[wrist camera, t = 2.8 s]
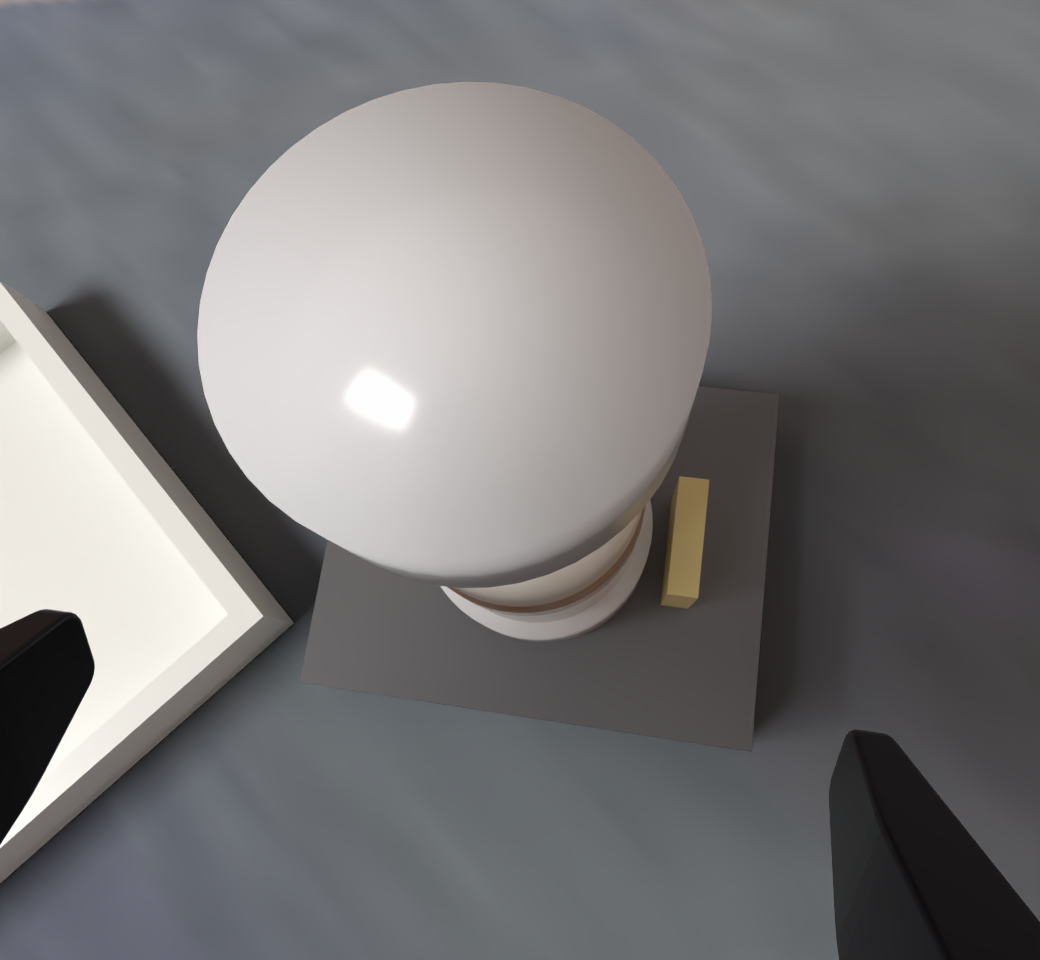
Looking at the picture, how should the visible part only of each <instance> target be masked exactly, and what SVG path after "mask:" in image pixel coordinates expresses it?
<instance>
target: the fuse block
mask: <svg viewBox="0 0 1040 960" xmlns="http://www.w3.org/2000/svg"><path fill="white" fill-rule="evenodd" d="M779 396H780V394H774V393H764V392H754V391H744V390H734V389H724V388H714V387H704V386H698V389H697V393H696V396H695V399H694V403H693V406H692V410H691V413H690V416H689V420H688V423H687V426H686V430H685V433H684V436H683V438H682V441H681V444H680V446H679V449H678V452H677V454H676V457H675V460H674V462H673V463H672V465H671V467H670V469H669V471H668V473H667V474H666V476H665V478H664V480H663V482H662V484H661V485H660V487H659V488H658V489H657V491H656V492H655V494H654V495H653V496H652V498H651V499H650V501H651V507H652V518H653V529H652V540H651V545H650V549H649V554H648V557H647V561H646V564H645V567H644V570H643V573H642V575H641V578H640V581H639V583H638V585H637V586H636V588H635V590H634V592H633V594H632V595H631V596H630V598H629V599H628V601H627V602H626V603H625V605H624V606H623V607H622V608H621V609H620V610H619V611H618V612H617V613H616V614H615V615H614V616H613V617H612V618H610V619H609V620H608V621H607V622H605V623H604V624H603V625H601V626H599V627H598V628H596V629H594V630H593V631H591V632H588V633H586V634H584V635H582V636H579V637H576V638H573V639H569V640H566V641H559V642H553V643H534V642H525V641H520V640H517V639H513V638H509V637H507V636H504V635H502V634H499V633H497V632H495V631H493V630H491V629H489V628H488V627H486V626H484V625H482V624H481V623H479V622H477V621H475V620H474V619H472V618H471V617H469V616H468V615H467V614H466V613H464V612H463V611H462V610H460V609H459V608H458V607H457V606H456V605H455V604H454V603H453V602H452V601H451V600H450V598H449V597H448V596H447V594H446V593H445V592H444V591H443V589H442V588H441V586H438V585H431V584H427V583H423V582H419V581H415V580H411V579H407V578H403V577H401V576H398V575H396V574H394V573H391V572H389V571H386V570H384V569H381V568H379V567H377V566H375V565H373V564H371V563H369V562H368V561H366V560H364V559H362V558H360V557H358V556H357V555H355V554H353V553H351V552H349V551H348V550H346V549H344V548H342V547H340V546H338V545H337V544H335V543H333V542H331V541H329V540H327V545H326V550H325V555H324V560H323V565H322V570H321V575H320V580H319V585H318V590H317V595H316V600H315V606H314V611H313V616H312V621H311V626H310V631H309V636H308V641H307V646H306V651H305V656H304V661H303V666H302V671H301V676H300V681H299V682H301V683H307V684H314V685H320V686H327V687H333V688H340V689H346V690H353V691H359V692H366V693H372V694H379V695H385V696H392V697H398V698H405V699H411V700H417V701H424V702H430V703H437V704H443V705H450V706H456V707H463V708H469V709H476V710H482V711H489V712H495V713H502V714H508V715H515V716H521V717H528V718H534V719H541V720H547V721H554V722H560V723H567V724H573V725H580V726H586V727H593V728H599V729H606V730H612V731H619V732H625V733H632V734H638V735H645V736H651V737H658V738H664V739H671V740H677V741H684V742H690V743H697V744H703V745H710V746H716V747H723V748H729V749H736V750H742V751H749V752H752V740H753V727H754V714H755V702H756V689H757V676H758V664H759V651H760V638H761V625H762V613H763V600H764V587H765V574H766V562H767V549H768V536H769V524H770V511H771V498H772V485H773V473H774V460H775V447H776V434H777V422H778V409H779Z"/></svg>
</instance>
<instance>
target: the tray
mask: <svg viewBox="0 0 1040 960" xmlns="http://www.w3.org/2000/svg"><path fill="white" fill-rule="evenodd" d="M42 609H52V610H59V611H65V612H72V613H74V614H76V615H77V616H78V617H79V618H80V619H81V621H82V624H83V627H84V630H85V633H86V636H87V639H88V643H89V646H90V649H91V652H92V655H93V658H94V662H95V670H94V676H93V679H92V682H91V684H90V686H89V688H88V690H87V692H86V694H85V696H84V698H83V699H82V701H81V703H80V705H79V707H78V709H77V711H76V713H75V715H74V717H73V719H72V721H71V723H70V725H69V726H68V728H67V730H66V732H65V734H64V736H63V738H62V740H61V742H60V744H59V746H58V748H57V750H56V751H55V753H54V755H53V757H52V759H51V761H50V763H49V765H48V767H47V769H46V771H45V773H44V775H43V776H42V778H41V780H40V782H39V784H38V785H37V787H36V789H35V791H34V793H33V794H32V796H31V798H30V799H29V801H28V802H27V804H26V806H25V807H24V809H23V811H22V812H21V814H20V815H19V817H18V818H17V820H16V821H15V823H14V825H13V826H12V828H11V829H10V831H9V832H8V834H7V835H6V837H5V838H4V840H3V841H2V843H1V845H0V883H1V882H2V881H4V880H5V879H6V878H7V877H8V876H9V875H10V874H11V873H13V872H14V871H15V870H16V869H17V868H18V867H19V866H21V865H22V864H23V863H24V862H25V861H26V860H27V859H28V858H30V857H31V856H32V855H33V854H34V853H35V852H36V851H37V850H39V849H40V848H41V847H42V846H43V845H44V844H45V843H46V842H48V841H49V840H50V839H51V838H52V837H53V836H54V835H56V834H57V833H58V832H59V831H60V830H61V829H62V828H63V827H65V826H66V825H67V824H68V823H69V822H70V821H71V820H72V819H74V818H75V817H76V816H77V815H78V814H79V813H80V812H81V811H83V810H84V809H85V808H86V807H87V806H88V805H89V804H91V803H92V802H93V801H94V800H95V799H96V798H97V797H98V796H100V795H101V794H102V793H103V792H104V791H105V790H106V789H107V788H109V787H110V786H111V785H112V784H113V783H114V782H115V781H116V780H118V779H119V778H120V777H121V776H122V775H123V774H124V773H126V772H127V771H128V770H129V769H130V768H131V767H132V766H133V765H135V764H136V763H137V762H138V761H139V760H140V759H141V758H142V757H144V756H145V755H146V754H147V753H148V752H149V751H150V750H151V749H153V748H154V747H155V746H156V745H157V744H158V743H159V742H160V741H162V740H163V739H164V738H165V737H166V736H167V735H168V734H170V733H171V732H172V731H173V730H174V729H175V728H176V727H177V726H179V725H180V724H181V723H182V722H183V721H184V720H185V719H186V718H188V717H189V716H190V715H191V714H192V713H193V712H194V711H195V710H197V709H198V708H199V707H200V706H201V705H202V704H203V703H205V702H206V701H207V700H208V699H209V698H210V697H211V696H212V695H214V694H215V693H216V692H217V691H218V690H219V689H220V688H221V687H223V686H224V685H225V684H226V683H227V682H228V681H229V680H230V679H232V678H233V677H234V676H235V675H236V674H237V673H238V672H240V671H241V670H242V669H243V668H244V667H245V666H246V665H247V664H249V663H250V662H251V661H252V660H253V659H254V658H255V657H256V656H258V655H259V654H260V653H261V652H262V651H263V650H264V649H265V648H267V647H268V646H269V645H270V644H271V643H272V642H273V641H274V640H276V639H277V638H278V637H279V636H280V635H281V634H282V633H284V632H285V631H286V630H287V629H288V628H289V627H290V626H291V625H293V624H294V622H293V621H292V620H291V619H290V617H289V616H288V615H287V614H286V612H285V611H284V610H283V608H282V607H281V606H280V605H279V603H278V602H277V601H276V600H275V598H274V597H273V596H272V595H271V593H270V592H269V591H268V590H267V588H266V587H265V586H264V585H263V583H262V582H261V581H260V580H259V578H258V577H257V576H256V575H255V573H254V572H253V571H252V570H251V568H250V567H249V566H248V565H247V563H246V562H245V561H244V560H243V558H242V557H241V556H240V555H239V553H238V552H237V551H236V550H235V548H234V547H233V546H232V545H231V543H230V542H229V541H228V540H227V538H226V537H225V536H224V535H223V533H222V532H221V531H220V529H219V528H218V527H217V526H216V524H215V523H214V522H213V521H212V519H211V518H210V517H209V516H208V514H207V513H206V512H205V511H204V509H203V508H202V507H201V506H200V504H199V503H198V502H197V501H196V499H195V498H194V497H193V496H192V494H191V493H190V492H189V491H188V489H187V488H186V487H185V486H184V484H183V483H182V482H181V481H180V479H179V478H178V477H177V476H176V474H175V473H174V472H173V471H172V469H171V468H170V467H169V466H168V464H167V463H166V462H165V461H164V459H163V458H162V457H161V456H160V454H159V453H158V452H157V451H156V449H155V448H154V447H153V445H152V444H151V443H150V442H149V440H148V439H147V438H146V437H145V435H144V434H143V433H142V432H141V430H140V429H139V428H138V427H137V425H136V424H135V423H134V422H133V420H132V419H131V418H130V417H129V415H128V414H127V413H126V412H125V410H124V409H123V408H122V407H121V405H120V404H119V403H118V402H117V400H116V399H115V398H114V397H113V395H112V394H111V393H110V392H109V390H108V389H107V388H106V387H105V385H104V384H103V383H102V382H101V380H100V379H99V378H98V377H97V375H96V374H95V373H94V372H93V370H92V369H91V368H90V366H89V365H88V364H87V363H86V361H85V360H84V359H83V358H82V356H81V355H80V354H79V353H78V351H77V350H76V349H75V348H74V346H73V345H72V344H71V343H70V341H69V340H68V339H67V338H66V336H65V335H64V334H63V333H62V331H61V330H60V329H59V328H58V326H57V325H56V324H55V323H54V321H53V320H52V319H51V318H50V316H49V315H48V314H47V313H46V311H44V310H43V309H41V308H40V307H39V306H37V305H36V304H34V303H33V302H31V301H30V300H28V299H27V298H25V297H24V296H22V295H21V294H19V293H18V292H16V291H15V290H13V289H12V288H11V287H9V286H8V285H6V284H5V283H3V282H2V281H0V628H2V627H4V626H6V625H9V624H11V623H13V622H15V621H17V620H19V619H21V618H23V617H25V616H27V615H29V614H31V613H34V612H36V611H38V610H42Z"/></svg>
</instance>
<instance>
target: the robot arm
mask: <svg viewBox="0 0 1040 960" xmlns="http://www.w3.org/2000/svg"><path fill="white" fill-rule="evenodd" d="M94 670H95V662H94V658H93V655H92V652H91V649H90V646H89V643H88V639H87V636H86V633H85V630H84V627H83V624H82V621H81V619H80V618H79V617H78V616H77V615H76V614H74V613H72V612H65V611H59V610H52V609H42V610H38V611H36V612H34V613H31V614H29V615H27V616H25V617H23V618H21V619H19V620H17V621H15V622H13V623H11V624H9V625H6V626H4V627H2V628H0V845H1V843H2V841H3V840H4V838H5V837H6V835H7V834H8V832H9V831H10V829H11V828H12V826H13V825H14V823H15V821H16V820H17V818H18V817H19V815H20V814H21V812H22V811H23V809H24V807H25V806H26V804H27V802H28V801H29V799H30V798H31V796H32V794H33V793H34V791H35V789H36V787H37V785H38V784H39V782H40V780H41V778H42V776H43V775H44V773H45V771H46V769H47V767H48V765H49V763H50V761H51V759H52V757H53V755H54V753H55V751H56V750H57V748H58V746H59V744H60V742H61V740H62V738H63V736H64V734H65V732H66V730H67V728H68V726H69V725H70V723H71V721H72V719H73V717H74V715H75V713H76V711H77V709H78V707H79V705H80V703H81V701H82V699H83V698H84V696H85V694H86V692H87V690H88V688H89V686H90V684H91V682H92V679H93V676H94ZM829 809H830V829H831V849H832V868H833V888H834V908H835V925H836V939H837V947H838V954H839V960H1040V921H1039V920H1038V919H1037V918H1036V916H1035V915H1034V914H1033V913H1032V911H1031V910H1030V909H1029V908H1028V906H1027V905H1026V904H1025V903H1024V901H1023V900H1022V899H1021V898H1020V896H1019V895H1018V894H1017V893H1016V891H1015V890H1014V889H1013V888H1012V886H1011V885H1010V884H1009V883H1008V881H1007V880H1006V879H1005V878H1004V876H1003V875H1002V874H1001V873H1000V871H999V870H998V869H997V868H996V866H995V865H994V864H993V863H992V861H991V860H990V859H989V858H988V856H987V855H986V854H985V853H984V851H983V850H982V849H981V848H980V846H979V845H978V844H977V843H976V841H975V840H974V839H973V838H972V836H971V835H970V834H969V833H968V831H967V830H966V829H965V828H964V826H963V825H962V824H961V823H960V821H959V820H958V819H957V818H956V816H955V815H954V814H953V813H952V811H951V810H950V809H949V808H948V806H947V805H946V804H945V803H944V801H943V800H942V799H941V798H940V796H939V795H938V794H937V793H936V791H935V790H934V789H933V788H932V786H931V785H930V784H929V783H928V781H927V780H926V779H925V778H924V776H923V775H922V774H921V773H920V771H919V770H918V769H917V768H916V766H915V765H914V764H913V763H912V761H911V760H910V759H909V758H908V756H907V755H906V754H905V753H904V751H903V750H902V749H901V748H900V746H899V745H898V744H897V743H896V741H895V740H894V739H893V738H891V737H890V736H888V735H886V734H882V733H875V732H869V731H862V730H852V731H850V732H849V733H848V734H847V735H846V737H845V740H844V743H843V746H842V748H841V751H840V754H839V757H838V760H837V763H836V766H835V769H834V772H833V775H832V778H831V783H830V790H829Z"/></svg>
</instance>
